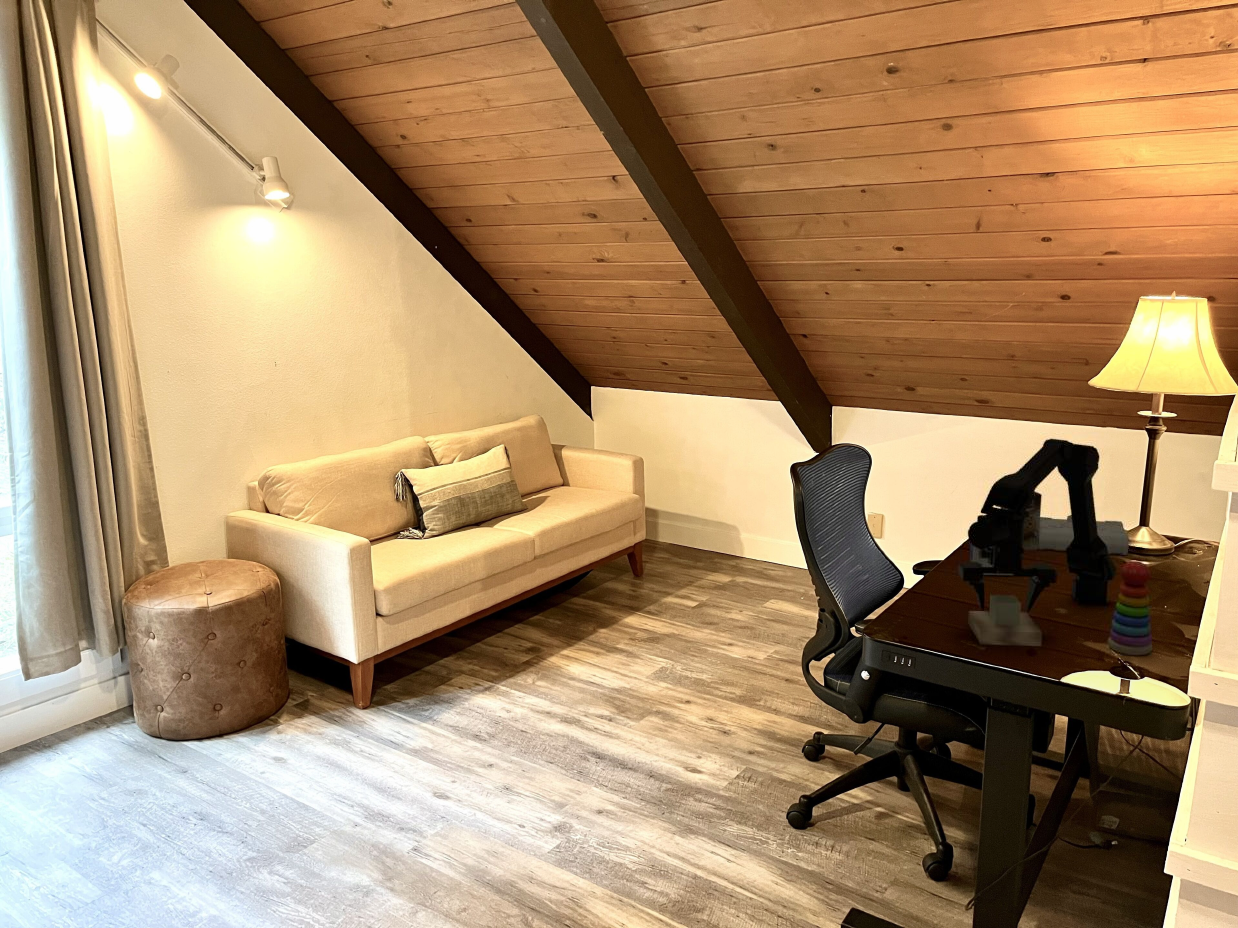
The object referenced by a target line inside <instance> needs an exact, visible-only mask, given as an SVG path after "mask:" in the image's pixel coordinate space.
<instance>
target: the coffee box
mask: <svg viewBox="0 0 1238 928" xmlns="http://www.w3.org/2000/svg"><path fill="white" fill-rule="evenodd" d="M1000 508H1001V507H1000ZM1041 508H1042V494H1041V493H1039V492H1037V491H1035V498H1034V500H1033V501H1032V502H1031V504H1030V505H1029V507H1028V508H1027V509H1026V511H1027V512H1028V513H1029V514H1030V516H1029V517H1027V518H1024V536H1023V548H1024V551H1037V550H1039V549H1038V542H1039V528H1040V517H1041V511H1042V510H1041ZM1001 509H1006V508H1001ZM1006 510H1010V509H1006Z"/></svg>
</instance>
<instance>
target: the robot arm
mask: <svg viewBox="0 0 1238 928" xmlns="http://www.w3.org/2000/svg"><path fill="white" fill-rule="evenodd" d="M1099 462H1100V454H1099V452H1098V449H1097V447H1095V446H1093V445H1088V444H1079V443H1073V442H1071V441H1068V440H1067V439H1057V438H1049V439H1046V440H1045V441H1044V442H1043V444H1042V446H1041V448H1039V450H1038V451H1036V453H1034V454H1033V455H1032V457H1030V459H1029V460H1027V461H1026V463H1025V464H1024V465H1023V466H1022V467H1020V468H1019V469H1018V470H1017V471H1015V472H1014V473H1009V474H1006V475H1004V476H1002V477H1001V478H999V479H997V480H996V481H995V482H994V483H993V485H992V486H991V487H990V489H989V491H988V494H987V496H986V498H985V500H984V503H983V506H982V507H981V509H980V513H981V514H980V515H977V519H976V521H974V522H973V523H971V525H970V526H969V528H968V530H967V538H968V540H969V543H970V542H971V544H972V545H973V546H975V547H976V548H978V549H979V558H986V559H988V563H989V564H990V565H993V567H981V565H980V564H979V563H978V562H970V561H961V562H960V563H959V564H958V571H957V573H958V576H960V578H961V581H962V582H963V581H964V582H967V584H968V585H969V586H972V587H973V589H974V591H975V594H976V598H977V602H978V604H979V608H980V611H984V610H985V606H986V605H985V603H986V602H985V583H984V581H983V579H984V577H1010V578H1011V577H1016V578H1017V577H1018V578H1019V577H1020V578H1022V577H1023V578H1025V577H1026V578H1027V579H1028V587H1027V588H1028V589H1027V595H1026V602H1025V611H1026V613H1029V612H1030V611H1032V610H1031V609H1032V608H1033V606H1034V605H1035V602H1036V600H1038V597H1039V596H1040V595H1041V594H1042V592H1043V591H1044V589H1045V588H1050V587H1051V584H1056V583H1058V572H1057V570H1056V569H1055V568H1054V567H1053V566H1052V565H1051V564H1050V563H1048V562H1047V563H1046V562H1031V563H1030V566H1029V567H1023V554H1025V553H1024V552H1025V550H1024V548H1023V536H1024V518H1027V517H1029V516H1030V514H1029V513H1028V512H1027V511H1026V509H1027V508H1028V507H1029V505H1030V504H1031V502H1032V501H1033V500H1034V498H1035V492H1036V489H1037V488H1038V487H1039V485H1040V484H1041V483H1042V482H1044V480H1045V479H1046V478H1048V476H1049V475H1050V474H1051V473H1052V472H1053V471H1054V470H1055V469H1057V471H1058V474H1059V475H1060V476H1061V477H1062V478H1063V480H1064V481H1066V484H1067V491H1068V498H1069V499H1068V500H1069V507H1070V515H1071V517H1072V525H1073V533H1074V539H1073V541H1072V542H1071V544H1070V545H1069V546H1068V547H1067V548H1066V551H1065V552H1066V562H1067V565H1068V572H1069V574H1074V575H1075V576H1074V578H1073V579H1072V586H1071V597H1072V598H1073V599H1074V600H1075V601H1076V602H1077V603H1078V604H1081V605H1103V606H1104V605H1108V606H1109V605H1110V602H1109V601H1108V600H1107V598H1108V584H1109V581H1113V580H1114V578H1115V576H1116V574H1117V567H1116V565H1115V564H1114V562H1113V560H1112V559H1111V557H1110V554H1108V550H1107V546H1106V544H1105V543H1104V542H1103V541H1102V539H1101V538H1100V537H1099V536H1098V533H1097V524H1096V521H1097V518H1096V507H1095V497H1094V490H1093V477H1094V476H1095V475H1096V473H1097V472H1098V470H1099ZM1001 508H1006V509H1010V510H1006V509H1001ZM990 547H992V548H990Z"/></svg>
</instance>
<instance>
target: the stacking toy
mask: <svg viewBox="0 0 1238 928" xmlns="http://www.w3.org/2000/svg"><path fill="white" fill-rule="evenodd" d="M1120 573H1121V574H1120V575H1121V578H1122V580H1123V581H1124V582H1123V583H1122V584H1121V585H1120V586H1119V589H1120V592H1121V593H1119V594H1118V597H1117V598H1118V601H1117V602H1116V604H1115V609H1116V610H1115V611H1114V612H1113V619H1112V620H1111V627H1112V628H1111V629H1110V633H1109V634H1110V635H1109V637H1108V640H1107V645H1108V646H1109V648H1110V649H1112V650H1113V651H1115V652H1117V653H1119V654H1123V655H1129V656H1142V655H1143V656H1144V655H1148V654H1150V653H1151V652H1152V651H1153V645H1152V641H1153V636H1152V634H1151V633H1150V632H1151V630H1152V627H1151V625H1150V623H1151V617H1150V612H1151V608H1150V606H1149V604H1150V602H1151V601H1150V600H1151V599H1150V597H1149V596H1148V594H1149V588H1148V586H1147V585H1145V584H1146V583H1148V581H1149V580H1150V577H1151V572H1150V569H1149V567H1148V566H1147V564H1145V563H1144V562H1142V561H1139V560H1138V561H1137V560H1136V561H1135V560H1131V561H1128V562H1126V563H1125V564H1124V565H1123V566H1122V568H1121V571H1120Z"/></svg>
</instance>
